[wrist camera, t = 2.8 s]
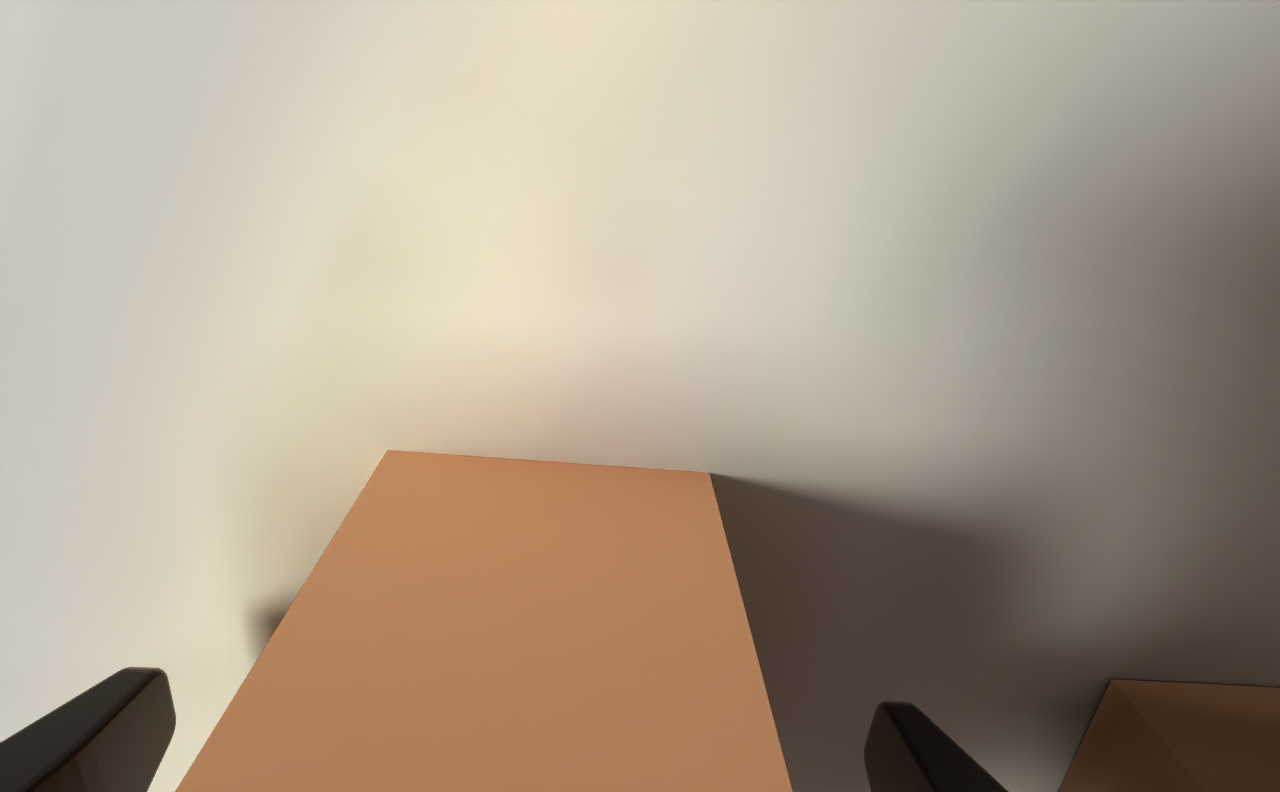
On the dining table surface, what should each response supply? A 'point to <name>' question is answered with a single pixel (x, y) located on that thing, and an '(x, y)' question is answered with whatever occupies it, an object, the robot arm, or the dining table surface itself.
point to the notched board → (1180, 740)
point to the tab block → (509, 643)
